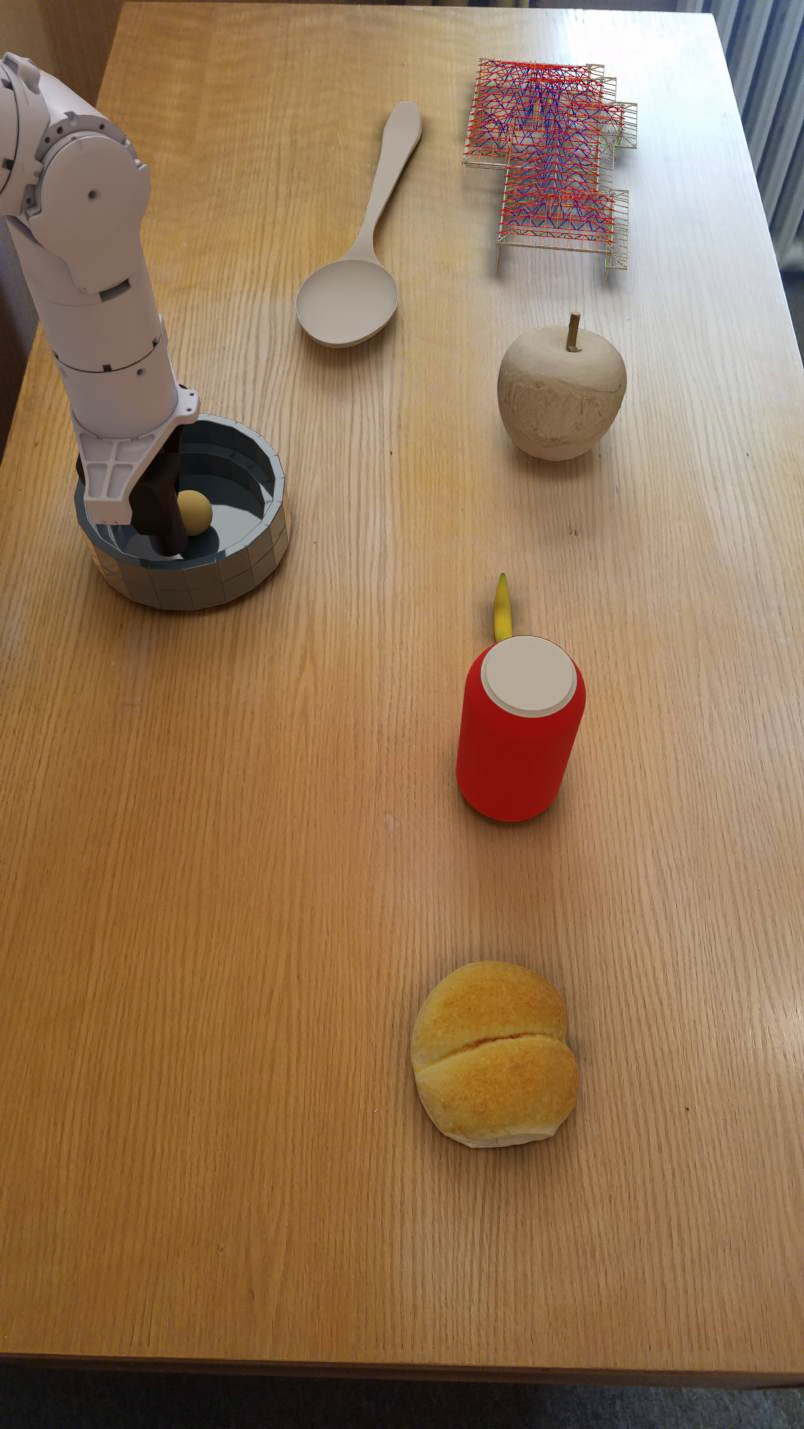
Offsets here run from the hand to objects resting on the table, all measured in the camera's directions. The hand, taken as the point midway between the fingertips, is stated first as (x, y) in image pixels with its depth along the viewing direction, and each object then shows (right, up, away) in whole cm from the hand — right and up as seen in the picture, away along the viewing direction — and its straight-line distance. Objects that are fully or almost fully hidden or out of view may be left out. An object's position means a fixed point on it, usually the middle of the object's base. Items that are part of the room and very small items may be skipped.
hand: (159, 513), depth 64 cm
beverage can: (+22, -17, -3) cm, 27 cm away
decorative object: (+26, +7, +11) cm, 29 cm away
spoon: (+13, +28, +23) cm, 39 cm away
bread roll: (+20, -31, -11) cm, 38 cm away
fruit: (+22, -7, +2) cm, 23 cm away
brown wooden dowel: (0, -1, +3) cm, 3 cm away
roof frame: (+28, +35, +27) cm, 52 cm away
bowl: (+1, -1, +6) cm, 6 cm away
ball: (+1, +1, +4) cm, 4 cm away
